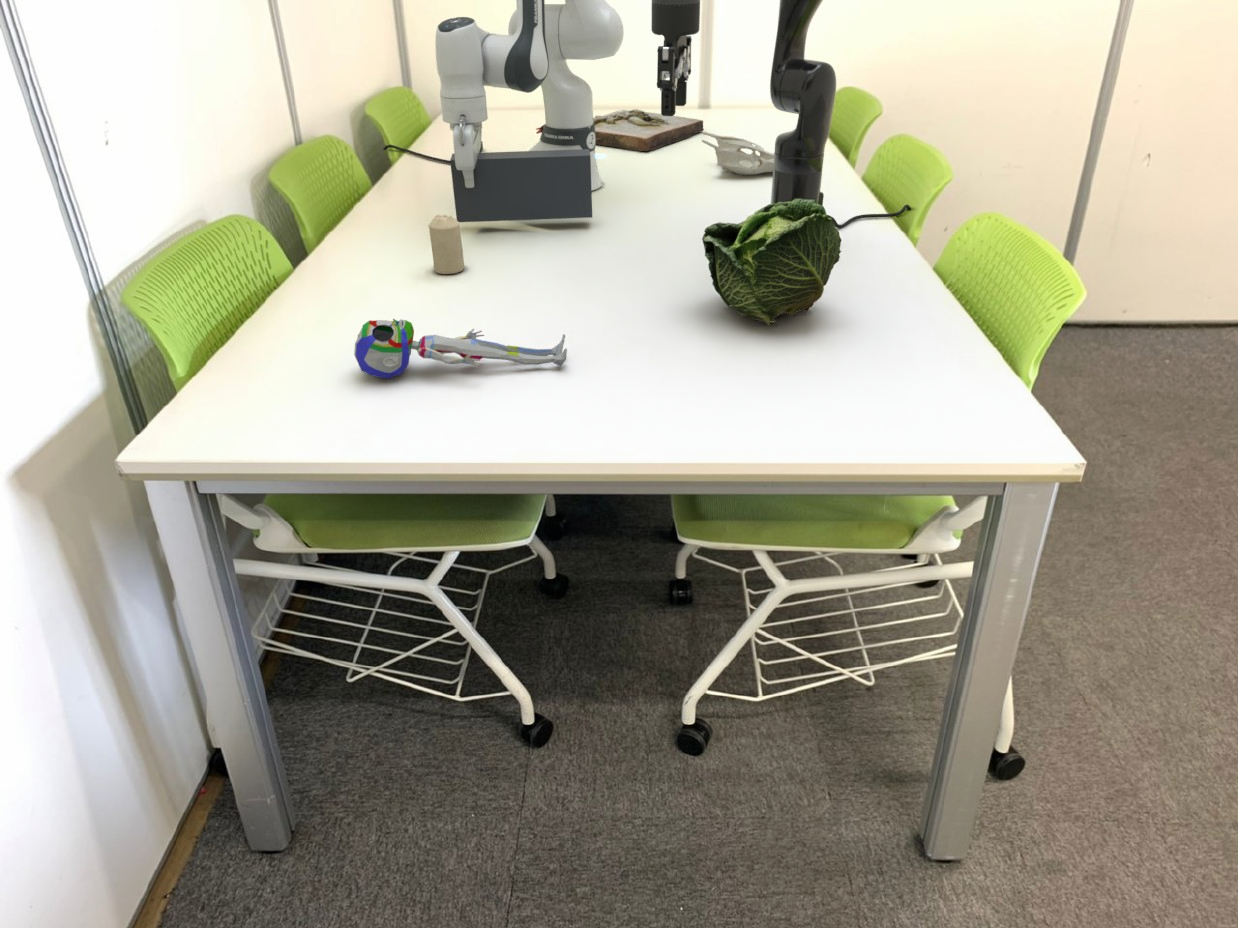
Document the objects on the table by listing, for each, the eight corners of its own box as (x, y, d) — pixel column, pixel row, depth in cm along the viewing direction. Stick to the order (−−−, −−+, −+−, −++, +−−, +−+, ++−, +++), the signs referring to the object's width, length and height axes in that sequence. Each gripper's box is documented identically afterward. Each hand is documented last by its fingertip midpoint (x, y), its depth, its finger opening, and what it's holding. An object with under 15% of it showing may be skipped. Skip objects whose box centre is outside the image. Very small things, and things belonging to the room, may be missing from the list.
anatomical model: (704, 128, 226) (804, 127, 222) (703, 165, 231) (801, 165, 227) (699, 142, 214) (805, 141, 210) (699, 181, 219) (803, 181, 215)
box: (457, 222, 184) (449, 160, 177) (459, 214, 189) (452, 153, 182) (592, 217, 185) (590, 155, 179) (591, 209, 190) (589, 149, 184)
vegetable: (733, 339, 155) (677, 239, 148) (822, 277, 157) (772, 174, 149) (783, 360, 137) (723, 247, 129) (884, 290, 138) (830, 173, 131)
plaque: (647, 125, 237) (559, 112, 252) (647, 153, 241) (560, 139, 256) (706, 107, 258) (622, 97, 273) (705, 133, 262) (622, 121, 277)
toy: (569, 347, 126) (349, 329, 122) (563, 400, 131) (350, 385, 126) (565, 318, 135) (359, 301, 130) (559, 369, 139) (360, 354, 134)
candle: (469, 265, 169) (463, 213, 163) (455, 275, 164) (449, 221, 159) (443, 262, 170) (437, 210, 165) (429, 272, 166) (422, 219, 160)
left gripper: (477, 121, 167) (483, 195, 174) (483, 101, 184) (489, 169, 192) (442, 121, 167) (451, 196, 174) (453, 102, 184) (460, 170, 191)
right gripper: (690, 4, 132) (687, 120, 140) (708, -5, 143) (704, 103, 152) (641, 4, 133) (641, 118, 142) (662, -5, 145) (661, 101, 154)
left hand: (471, 182), depth 183 cm, fingers closed on box, 6 cm apart
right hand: (674, 110), depth 147 cm, fingers open, 8 cm apart
